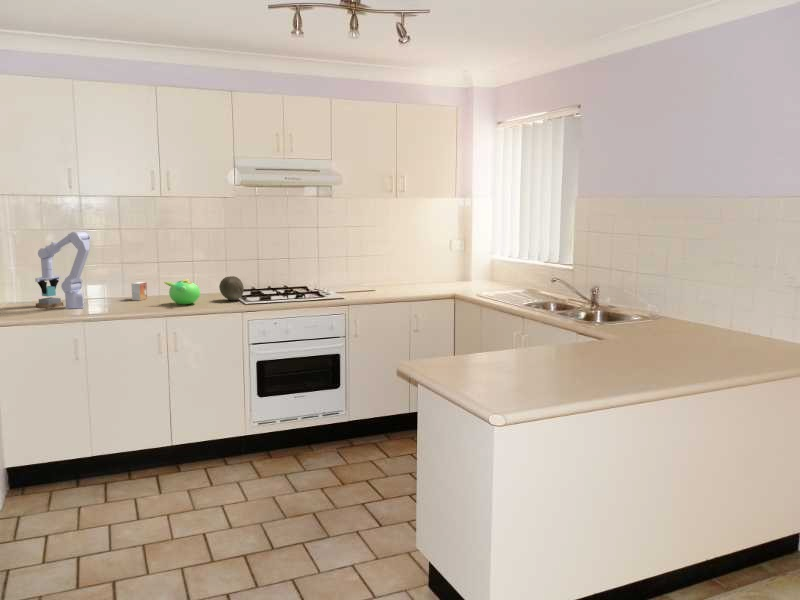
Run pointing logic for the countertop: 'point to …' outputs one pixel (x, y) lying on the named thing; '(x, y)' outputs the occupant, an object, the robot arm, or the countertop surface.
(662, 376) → the countertop surface
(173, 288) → the toy bird
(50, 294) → the teal block
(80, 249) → the robot arm
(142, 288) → the small box
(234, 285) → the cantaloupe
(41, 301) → the grey top slab
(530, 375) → the countertop surface
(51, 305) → the walnut base slab
